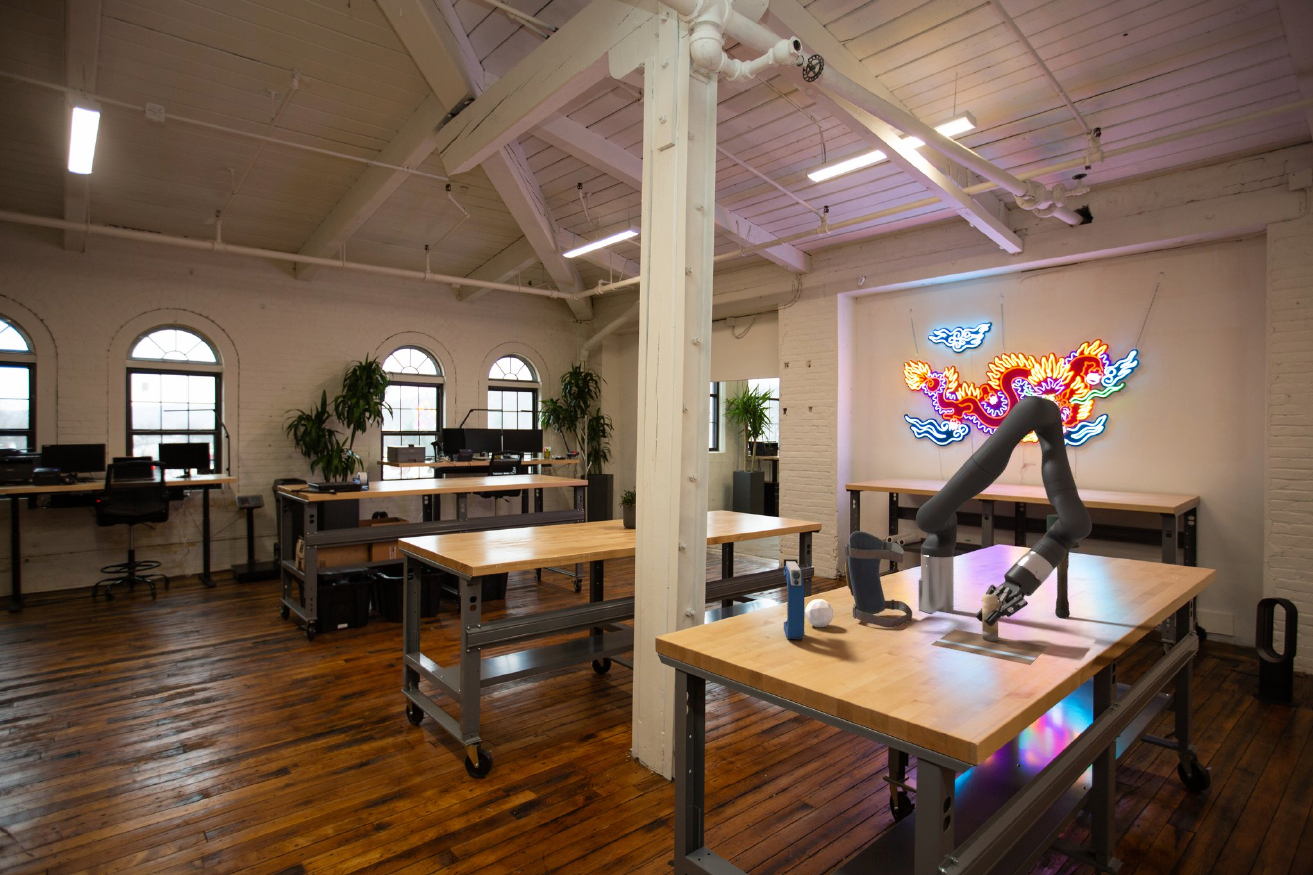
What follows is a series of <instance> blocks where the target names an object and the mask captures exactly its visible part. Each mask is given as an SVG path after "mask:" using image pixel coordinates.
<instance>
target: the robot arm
mask: <svg viewBox="0 0 1313 875" xmlns="http://www.w3.org/2000/svg"><path fill="white" fill-rule="evenodd" d="M1060 408H1061V407H1060V406H1059V405H1058V404H1057V403H1056V402H1054V401H1053V400H1050V399H1048V398H1045V397H1040V396H1037V395H1028V396H1025V397H1023V398H1021V399H1020V400H1018V402H1016V403H1015V405H1014V406H1013V407H1012V408H1011V410H1010V411H1009V412H1008V414H1007V415H1006V417H1004V419H1003V420H1002V421H1001V423H1000V424H999V426H998V427H997V428H996V429H995V431H993V433H991V434H990V436H989V437H988V438H987V439H986V440H985V441H984V442H983V444H981V446H979V448H978V449H977V450H976V451H975V452H973V453H972V455H970V456H969V458H968V459H967V460H966V461H965V462H964V463H963V464H962V466H961V467H960V468H959V469H958V470H957V471H956V472H955V473H954V475H952V477H951V478H950V479H949V480H948V481H947V482H946V484H945V485H944V486H943V487H942V488H941V489H940V490H939V491H938V492H937V493H936V494H934V495H933V496H932V497H930V499H929V500H927V501H926V502H925V503H924V504H923V505H921V506H920V507H919V509H918V511H917V513H916V516H915V524H916V526H917V527H918V529H919V530H920V531H922V532H923V533H926V538H925V539H924V541H923V543H922V544H921V545H920V546H921V547H920V578H918V611H921V612H925V613H928V614H933V615H934V614H935V613H936V612H939V613H945V614H954V610H955V609H954V607H955V605H954V604H955V602H954V597H955V596H954V591H955V590H954V588H955V587H954V584H955V582H954V576H955V575H954V573H955V572H954V569H955V568H954V564H955V562H954V558H955V557H954V552H955V548H956V546H957V534H958V533H957V532H958V516H957V513H956V512H957V510H958V509H960V507H962V506H963V505H964V504H966V503H967V502H969V501H970V500H971V499H973V498H975V497H977V496H978V495H979V494H981V493H982V492H984V491H986V489H988V488H990V486H991V485H992V484H993V483H995V481H996V480H997V479H998V478H999V477H1000V476H1001V475H1002V474H1003V473H1004V471H1006V468H1007V466H1008V464H1009V462H1010V459H1011V457H1012V454H1013V452H1014V450H1015V448H1016V447H1017V446H1018V444H1020V443H1021V441H1023V440H1024V439H1025V438H1026V437H1027V436H1028V435H1029V434H1031V433H1032V432H1034V433H1035V436H1036V438H1037V440H1038V442H1039V445H1040V446H1039V447H1040V450H1041V466H1040V467H1041V468H1040V470H1041V471H1040V472H1041V480H1042V483H1043V486H1044V490H1045V494H1046V497H1047V499H1048V502H1049V504H1050V505H1052V506H1053V507H1054V508H1055V510H1056V514H1057V515H1058V516H1059V519H1058V520H1057V521H1056V522H1055V523H1054V524H1053V525H1052V526H1051V527H1050V529H1049V530H1048V531H1047V530H1046V532H1045V533H1044V535H1043V536H1042V538H1040V539H1039V540H1038V541H1037V542H1035V544H1034V545H1033V546H1032V547H1031V548H1030V549H1029V550H1028V551H1026V553H1024V554H1023V555H1022V556H1021V557H1020V558H1019V559H1017V561H1016V562H1015V563H1013V565H1012V566H1011V567H1010V568H1009V569H1008V570H1007V571H1006V573H1005V574H1004V575H1003V578H1004V582H1002V583H1000V585H998V586H995V585H994V584H990V585H989V587H988V589H987V591H986V592H985V594H989V595H996V596H998V605H997V607H996V608H995V610H996V611H995V610H993V611H992V612H991V613H990V614H989V615H988V616H987V617H986V618H985V619H984V621H985V623H986V624H987V625H989V626H993V625H994V624H995V623H996V622H997V621H998V622H999V620H1000V618H1004V617H1005V616H1007V618H1010V617H1012V616H1014V614H1016V613H1017V612H1019V611H1021V610H1022V609H1024V608H1025V607H1027V606H1028V605H1029V602H1028V601H1027V600H1026V599H1025V597H1030V596H1032V595H1033V594H1034V593H1035V592H1036V591H1037V590H1038V588H1040V586H1041V585H1043V583H1044V582H1045V581H1046V580H1047V579H1048V578H1049V577H1050V575H1051V574H1052V573H1053V571H1054V570H1055V569H1057V566H1058V565H1059V564H1060V563H1061V562H1062V560H1063V559H1064V558H1065V556H1066V553H1067V552H1068V551H1069V552H1070V551H1071V549H1073V548H1072V547H1073V546H1074V545H1075V544H1076V543H1077V542H1078V543H1079V541H1081V540H1084V539H1085V538H1087V537H1088V536H1089V535H1090V534H1091V532H1092V530H1093V529H1092V528H1093V524H1092V523H1093V522H1092V519H1091V515H1090V513H1089V512H1088V510H1087V508H1086V506H1085V504H1084V502H1083V501H1082V499H1081V497H1080V495H1079V491H1078V488H1077V485H1076V481H1075V478H1074V476H1073V475H1074V474H1073V472H1072V470H1071V469H1072V468H1071V465H1070V462H1069V458H1068V452H1067V446H1066V440H1065V435H1064V434H1065V433H1064V427H1063V416H1062V412H1061V409H1060ZM974 616H975V618H976V620H978V621H979V622H981V623H982V608H980V609H979V610H978V612H976V613H975V615H974Z"/></svg>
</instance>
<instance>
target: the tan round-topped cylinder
mask: <svg viewBox="0 0 1313 875" xmlns="http://www.w3.org/2000/svg"><path fill="white" fill-rule="evenodd" d="M998 601H999V600H998V596H996V595H989V594H986V593H985V594H982V595H981V604H982V606H981V609H982V622H981V625H982V633H981V634H982V638H983V639H984V640H987V641H998V637H999V620H998V621H997V622H996V623H995V624H994V625H993V626H989V625H987V624H986V623H985V621H984V619H985V618H986V617H987V616H988V615H989V614H990V613H991V612H992V611H993V610H995V608H996V607H997V605H998ZM995 611H996V610H995Z"/></svg>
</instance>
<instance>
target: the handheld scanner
mask: <svg viewBox="0 0 1313 875" xmlns="http://www.w3.org/2000/svg"><path fill="white" fill-rule="evenodd" d="M783 576H784V577H785V580H786V584H787V585H786V586H787V588H786V589H787V603H786V604H787V605H786V610H787V612H786V613H787V616H786V618H787V619H786V621H783V631H784V635H785V638H786V639H788V640H803V639H804V636H805V615H806V612H805V609H806V607H805V582H804V574H803V571H802V570H801V568H800V567H799V564H798V559H797V558H796V559H793V558H792V559H791V558H790V559H789V558H788V559H787V558H784V559H783Z"/></svg>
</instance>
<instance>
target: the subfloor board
mask: <svg viewBox="0 0 1313 875" xmlns="http://www.w3.org/2000/svg"><path fill="white" fill-rule="evenodd" d="M930 646H935V647H939V648H945V649H949V650H954V651H960V652H964V653H968V654H973V655H978V656H985V657H989V658H994V659H999V660H1002V661H1003V660H1004V661H1007V662H1009V661H1010V662H1014V663H1017V664H1018V663H1019V664H1024V665H1029V666H1031V665H1032V663H1033V662H1034V661H1036V659H1038V658H1039V656H1040V655H1041V654H1042V653H1043V652H1044V651H1045V650H1046V649H1047V648H1048V646H1047V645H1044V644H1038V643H1031V642H1026V641H1020V640H1016V639H1010V638H1005V637H999V636H998V641H987V640H984V639H983V638H982V633H978V632H973V631H966V630H960V629H957V628H956V629H955V628H954V629H953V630H951V631H950V632H948V633H947V634H945V635H943V636H942V637H941V638H939V639H938V638H937V640H935V641H934V642H933V643H931V644H930Z"/></svg>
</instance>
